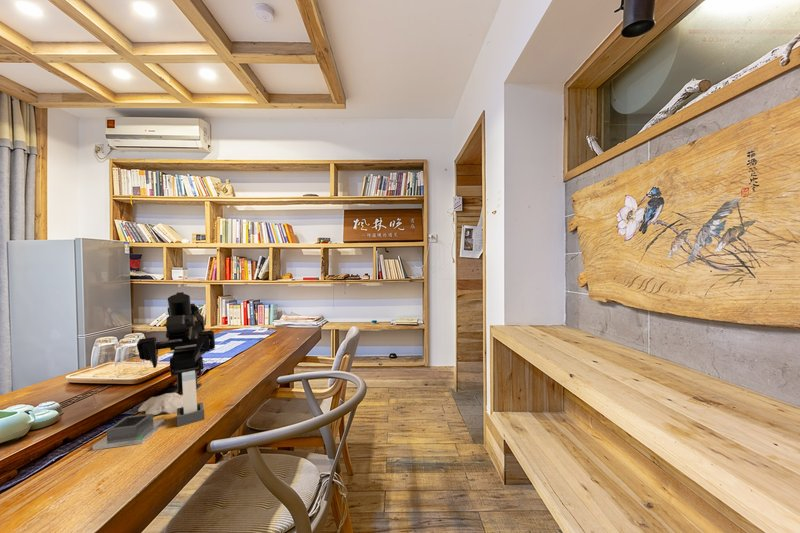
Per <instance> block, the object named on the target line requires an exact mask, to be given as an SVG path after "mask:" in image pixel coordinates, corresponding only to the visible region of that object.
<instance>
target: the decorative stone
mask: <svg viewBox="0 0 800 533" xmlns="http://www.w3.org/2000/svg"><path fill="white" fill-rule="evenodd" d="M181 407H184V406H183V394H182V395H180V393H173V392H168V393H167V392H166V393H163V394H161V395H157V396H151V397H149V398H148V399H147V400H145V401H144V402H143V403H142V404H141V405H140V406H139V408H138V409H137V412H139V413H143V412H145V414H144V415H146V414H153V417H154V416H157V415H159V414H160V415H161V414H168V415H171V413H172V414H177V408H181Z"/></svg>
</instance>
